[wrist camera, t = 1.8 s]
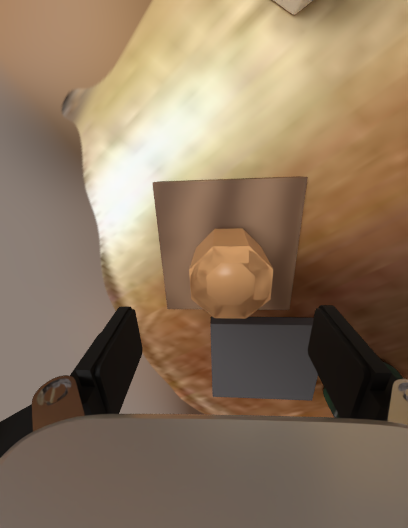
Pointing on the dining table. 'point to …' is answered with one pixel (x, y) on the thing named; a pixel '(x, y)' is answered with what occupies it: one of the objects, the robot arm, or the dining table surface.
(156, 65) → the dining table surface
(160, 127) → the dining table surface
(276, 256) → the post stand
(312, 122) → the dining table surface
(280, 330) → the mat
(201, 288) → the cap
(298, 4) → the jar
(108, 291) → the dining table surface
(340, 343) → the robot arm
